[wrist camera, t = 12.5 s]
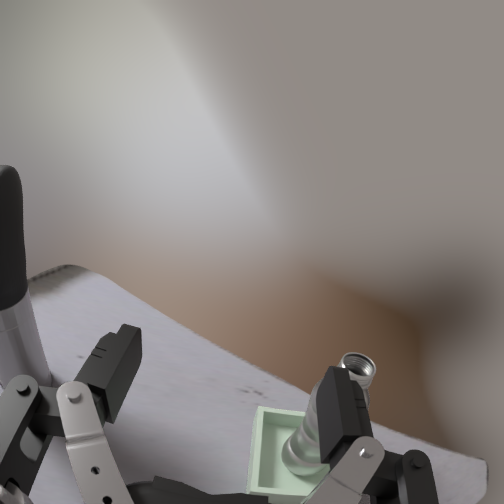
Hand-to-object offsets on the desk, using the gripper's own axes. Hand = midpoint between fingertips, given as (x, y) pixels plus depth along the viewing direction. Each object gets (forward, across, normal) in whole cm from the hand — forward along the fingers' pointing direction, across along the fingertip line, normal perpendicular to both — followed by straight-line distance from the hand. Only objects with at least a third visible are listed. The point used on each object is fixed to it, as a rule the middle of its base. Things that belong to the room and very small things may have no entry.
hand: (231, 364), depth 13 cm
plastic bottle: (+12, -12, +30) cm, 35 cm away
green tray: (+12, -12, +31) cm, 35 cm away
